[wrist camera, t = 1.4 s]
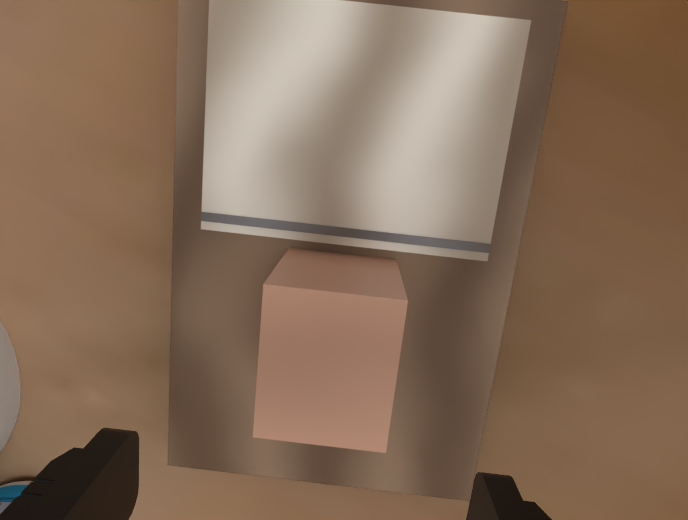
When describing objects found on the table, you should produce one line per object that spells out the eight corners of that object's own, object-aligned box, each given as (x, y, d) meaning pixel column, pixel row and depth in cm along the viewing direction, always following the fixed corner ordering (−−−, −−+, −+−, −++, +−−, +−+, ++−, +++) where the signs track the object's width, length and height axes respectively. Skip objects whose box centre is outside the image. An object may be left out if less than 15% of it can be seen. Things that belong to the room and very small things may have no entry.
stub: (396, 259, 22) (407, 300, 17) (380, 377, 24) (385, 453, 18) (289, 247, 23) (263, 284, 17) (279, 365, 24) (252, 437, 18)
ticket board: (553, 10, 21) (575, -4, 19) (463, 481, 27) (472, 510, 25) (191, -28, 21) (172, -47, 19) (178, 447, 27) (162, 474, 25)
